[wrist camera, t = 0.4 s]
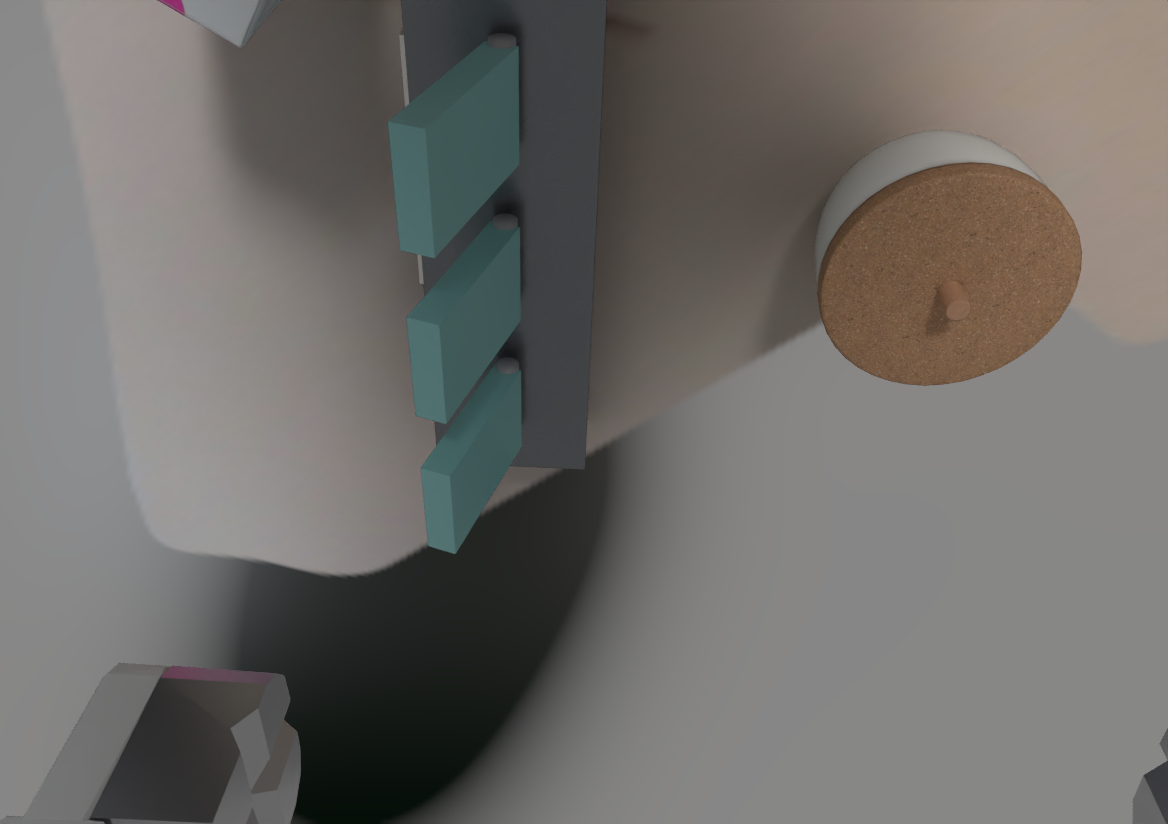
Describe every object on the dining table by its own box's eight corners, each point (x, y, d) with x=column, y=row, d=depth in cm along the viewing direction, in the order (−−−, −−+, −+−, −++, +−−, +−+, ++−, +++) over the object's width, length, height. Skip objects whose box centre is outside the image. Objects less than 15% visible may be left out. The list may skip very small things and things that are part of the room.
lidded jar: (1075, 130, 47) (1154, 237, 40) (954, 314, 54) (1004, 434, 46) (859, 61, 45) (902, 160, 38) (762, 261, 52) (784, 376, 45)
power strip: (405, -83, 42) (387, -52, 39) (611, -73, 42) (609, -42, 39) (441, 414, 59) (431, 463, 56) (587, 421, 59) (585, 470, 56)
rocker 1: (491, 30, 41) (387, 116, 34) (523, 36, 40) (425, 123, 34) (494, 156, 44) (400, 254, 38) (524, 163, 44) (434, 263, 38)
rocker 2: (495, 210, 46) (406, 313, 40) (524, 217, 45) (438, 321, 39) (498, 311, 49) (416, 419, 43) (525, 317, 49) (446, 427, 43)
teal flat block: (499, 354, 51) (420, 464, 45) (525, 361, 51) (449, 472, 44) (501, 436, 55) (428, 548, 48) (525, 442, 54) (455, 557, 48)
